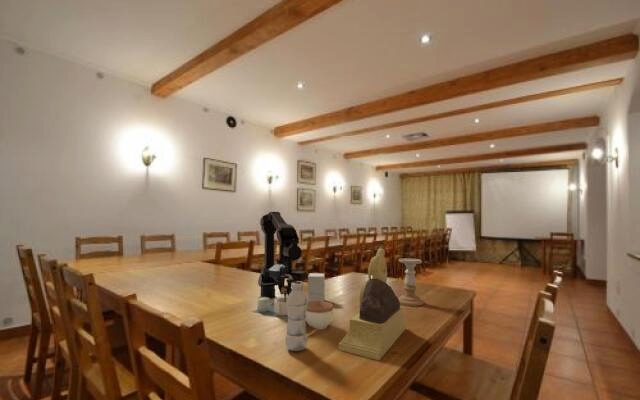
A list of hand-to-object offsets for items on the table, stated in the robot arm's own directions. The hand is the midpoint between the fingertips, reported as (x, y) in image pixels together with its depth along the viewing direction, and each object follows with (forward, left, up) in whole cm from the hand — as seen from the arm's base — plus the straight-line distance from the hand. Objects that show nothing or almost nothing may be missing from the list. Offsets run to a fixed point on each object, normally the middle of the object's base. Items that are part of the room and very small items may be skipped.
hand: (285, 294), depth 126 cm
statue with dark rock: (+40, -4, -8) cm, 41 cm away
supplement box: (+2, +22, -8) cm, 23 cm away
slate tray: (-1, +1, -8) cm, 8 cm away
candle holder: (+40, +45, -8) cm, 61 cm away
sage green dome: (-8, -4, -7) cm, 12 cm away
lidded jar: (+19, -5, -8) cm, 21 cm away
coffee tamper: (0, 0, -6) cm, 6 cm away
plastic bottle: (+23, -25, -8) cm, 35 cm away
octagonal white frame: (0, 0, -7) cm, 7 cm away
